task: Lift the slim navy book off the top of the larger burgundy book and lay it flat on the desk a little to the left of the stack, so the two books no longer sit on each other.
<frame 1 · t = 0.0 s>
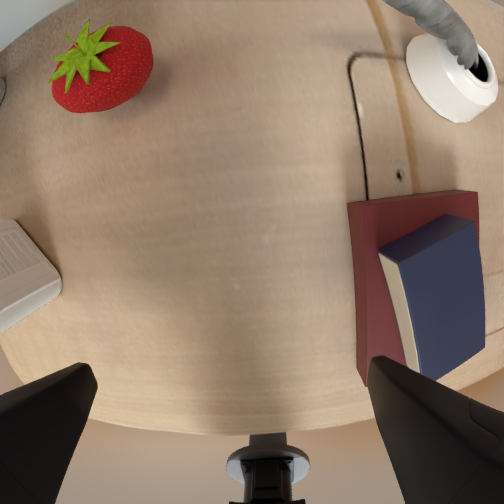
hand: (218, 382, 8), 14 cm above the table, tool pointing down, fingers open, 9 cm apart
inkwell: (406, 65, 17), on the table
strawberry: (132, 90, 19), on the table
photo printer: (32, 257, 23), on the table
burgundy book: (412, 283, 22), on the table, touching navy book
navy book: (429, 295, 19), point 3 cm above the table, touching burgundy book
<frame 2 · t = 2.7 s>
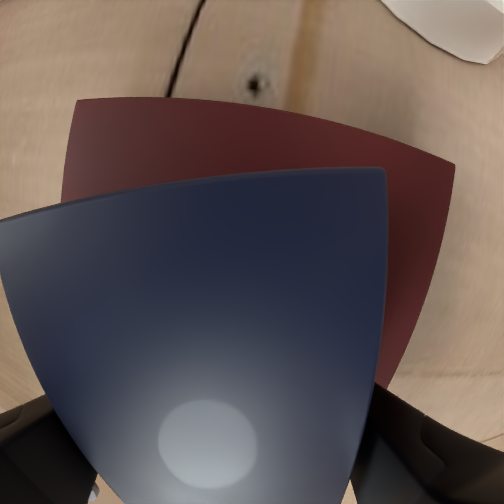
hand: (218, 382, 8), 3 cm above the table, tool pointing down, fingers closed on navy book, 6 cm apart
burgundy book: (230, 330, 11), on the table, touching navy book
navy book: (219, 378, 8), point 3 cm above the table, touching burgundy book, gripper
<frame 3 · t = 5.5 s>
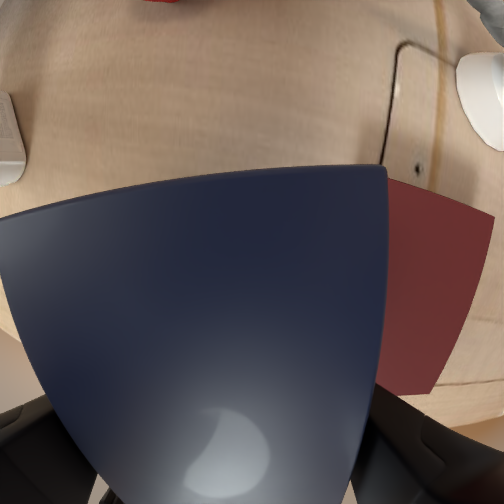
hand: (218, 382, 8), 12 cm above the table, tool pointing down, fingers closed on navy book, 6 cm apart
inkwell: (455, 72, 15), on the table
photo printer: (9, 136, 17), on the table
burgundy book: (397, 292, 19), on the table
navy book: (219, 377, 8), point 12 cm above the table, touching gripper
when the fingers open (0 cm above the table, at t = 8.6 s): navy book stays where it is, on the table.
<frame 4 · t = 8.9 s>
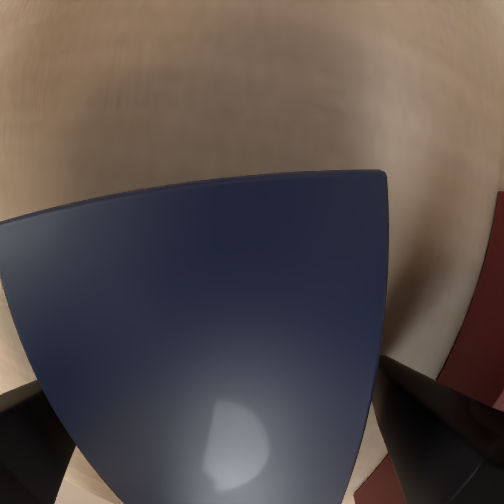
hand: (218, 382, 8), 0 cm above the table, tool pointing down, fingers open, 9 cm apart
navy book: (219, 379, 8), on the table
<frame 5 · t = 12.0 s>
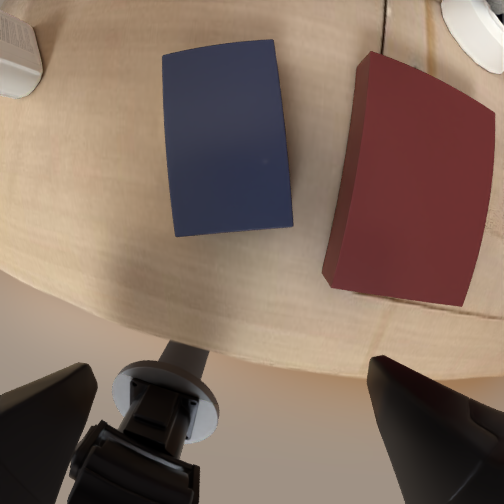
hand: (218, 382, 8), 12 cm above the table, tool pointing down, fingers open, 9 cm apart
inkwell: (440, 7, 13), on the table
photo printer: (27, 60, 16), on the table
burgundy book: (413, 184, 18), on the table
navy book: (230, 140, 17), on the table
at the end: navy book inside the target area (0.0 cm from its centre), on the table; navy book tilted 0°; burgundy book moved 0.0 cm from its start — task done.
